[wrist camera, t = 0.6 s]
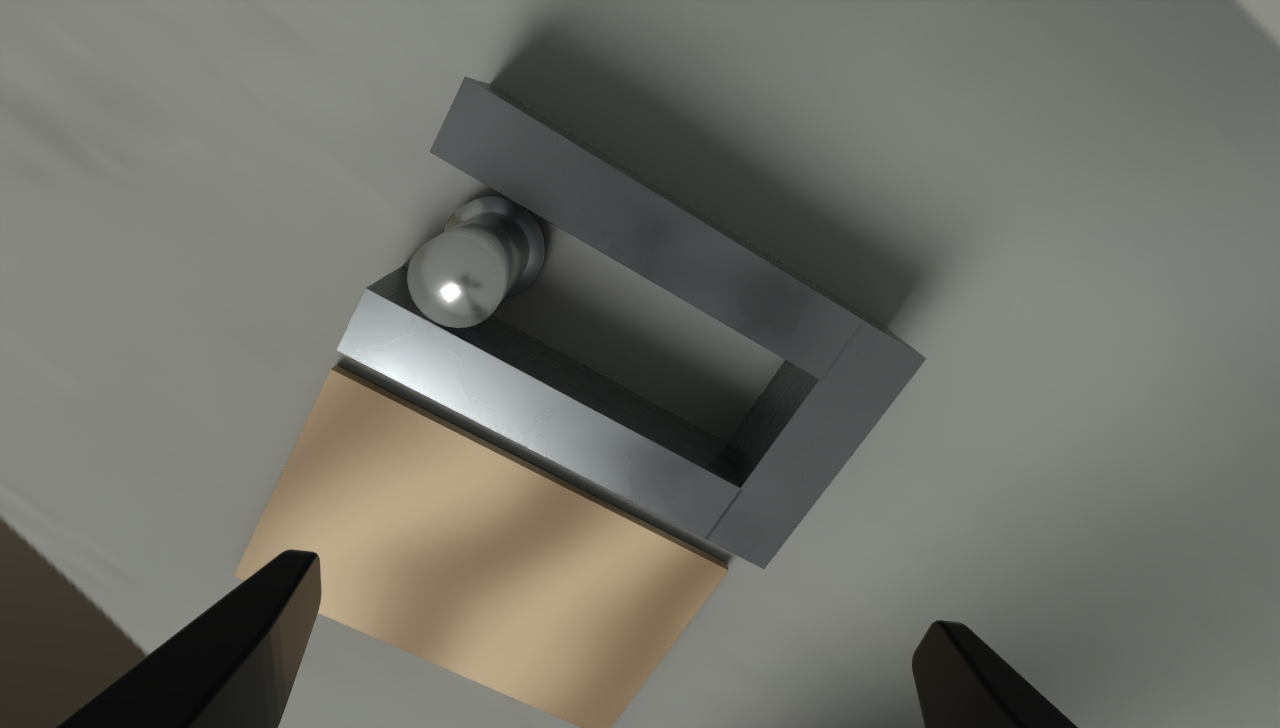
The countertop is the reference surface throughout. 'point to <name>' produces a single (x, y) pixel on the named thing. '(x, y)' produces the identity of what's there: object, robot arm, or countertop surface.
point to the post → (476, 262)
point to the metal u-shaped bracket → (607, 412)
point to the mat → (478, 556)
